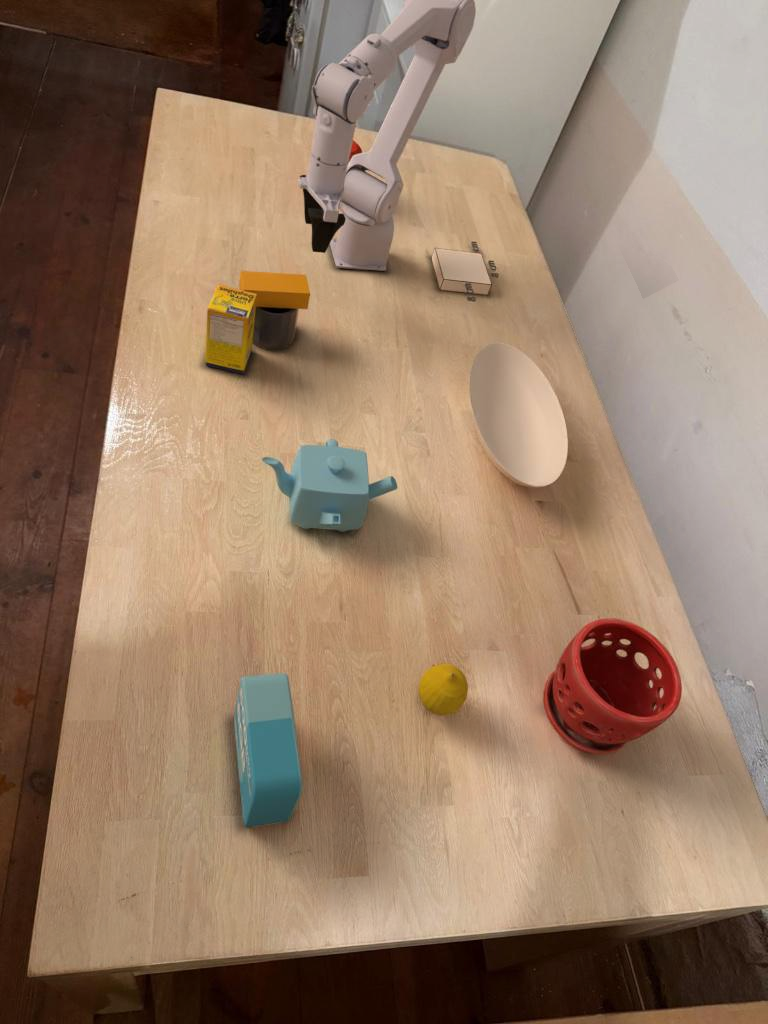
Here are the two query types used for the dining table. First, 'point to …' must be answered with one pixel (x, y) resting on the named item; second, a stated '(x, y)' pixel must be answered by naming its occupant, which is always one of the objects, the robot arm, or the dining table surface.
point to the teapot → (329, 486)
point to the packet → (276, 289)
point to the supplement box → (230, 328)
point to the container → (462, 271)
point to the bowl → (517, 416)
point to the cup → (274, 327)
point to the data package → (267, 750)
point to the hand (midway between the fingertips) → (315, 236)
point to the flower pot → (610, 687)
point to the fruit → (443, 689)
